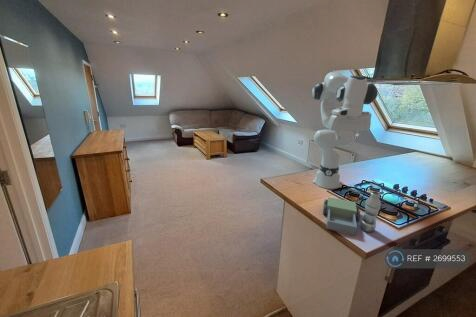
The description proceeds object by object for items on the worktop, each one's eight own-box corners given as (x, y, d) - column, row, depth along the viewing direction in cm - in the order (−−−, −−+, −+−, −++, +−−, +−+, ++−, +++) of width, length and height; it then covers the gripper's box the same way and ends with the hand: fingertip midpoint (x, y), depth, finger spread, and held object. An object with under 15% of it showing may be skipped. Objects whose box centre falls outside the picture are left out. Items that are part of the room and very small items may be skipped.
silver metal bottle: (358, 230, 107) (367, 194, 101) (360, 223, 113) (368, 188, 106) (374, 235, 104) (383, 198, 97) (375, 228, 109) (384, 192, 103)
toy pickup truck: (323, 205, 129) (325, 196, 127) (356, 211, 123) (358, 202, 121) (321, 227, 109) (323, 217, 107) (360, 236, 103) (363, 225, 101)
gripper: (367, 111, 111) (362, 138, 115) (328, 110, 109) (324, 137, 113) (376, 112, 105) (370, 140, 109) (335, 111, 103) (330, 140, 107)
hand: (346, 139), depth 111 cm, fingers open, 8 cm apart
